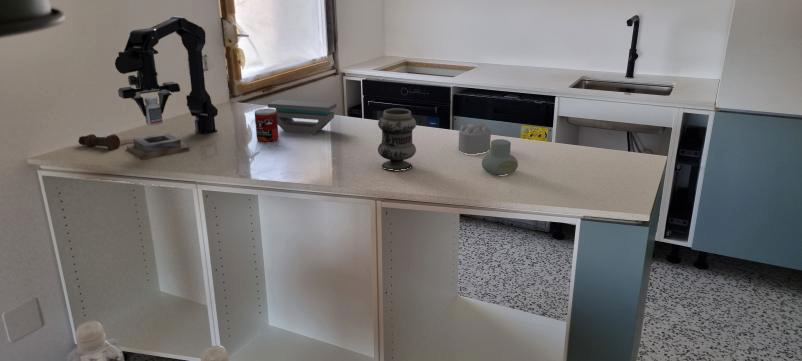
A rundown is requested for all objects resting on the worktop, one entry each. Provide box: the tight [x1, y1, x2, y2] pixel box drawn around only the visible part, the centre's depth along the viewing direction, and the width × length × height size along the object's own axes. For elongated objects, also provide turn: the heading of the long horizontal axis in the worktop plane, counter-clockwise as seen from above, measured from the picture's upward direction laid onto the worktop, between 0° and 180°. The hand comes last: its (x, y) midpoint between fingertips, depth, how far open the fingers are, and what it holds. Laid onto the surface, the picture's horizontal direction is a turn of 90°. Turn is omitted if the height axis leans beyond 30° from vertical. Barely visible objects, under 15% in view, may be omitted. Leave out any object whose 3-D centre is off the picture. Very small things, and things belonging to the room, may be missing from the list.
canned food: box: [254, 108, 279, 144], centre depth 217 cm, size 8×8×11 cm
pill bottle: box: [144, 96, 164, 126], centre depth 204 cm, size 5×5×9 cm
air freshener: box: [481, 138, 519, 176], centre depth 182 cm, size 11×8×10 cm
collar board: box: [126, 132, 190, 160], centre depth 208 cm, size 16×16×4 cm
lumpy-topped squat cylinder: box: [458, 122, 492, 154], centre depth 205 cm, size 10×13×9 cm
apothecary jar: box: [377, 107, 417, 170], centre depth 186 cm, size 12×12×18 cm
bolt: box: [77, 133, 121, 151], centre depth 211 cm, size 6×5×15 cm
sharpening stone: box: [267, 99, 337, 136], centre depth 230 cm, size 25×8×11 cm, turn 73°
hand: (153, 114), depth 204 cm, fingers closed on pill bottle, 5 cm apart
